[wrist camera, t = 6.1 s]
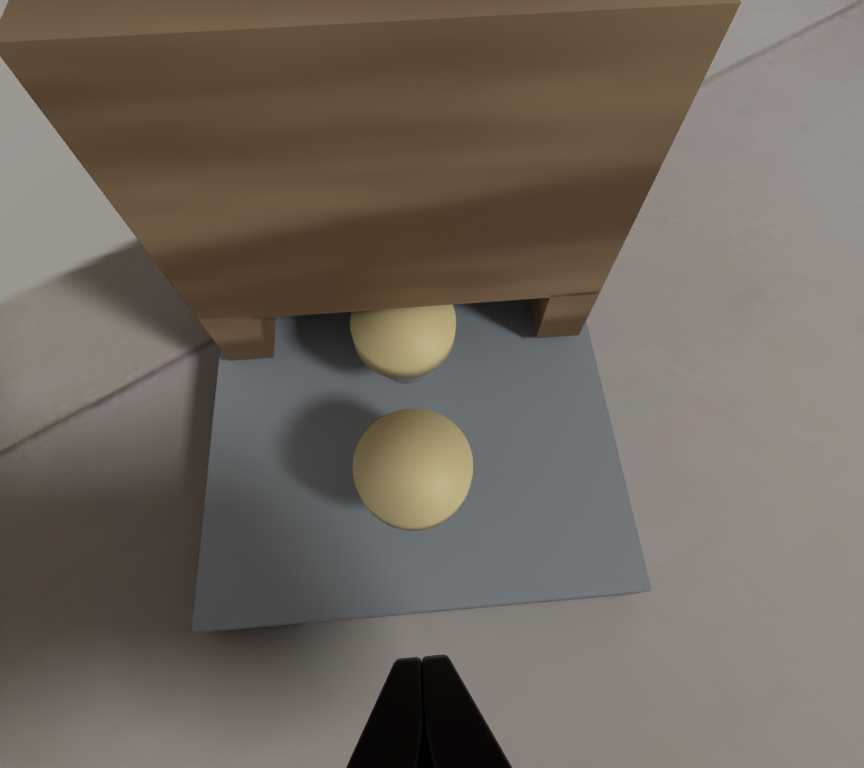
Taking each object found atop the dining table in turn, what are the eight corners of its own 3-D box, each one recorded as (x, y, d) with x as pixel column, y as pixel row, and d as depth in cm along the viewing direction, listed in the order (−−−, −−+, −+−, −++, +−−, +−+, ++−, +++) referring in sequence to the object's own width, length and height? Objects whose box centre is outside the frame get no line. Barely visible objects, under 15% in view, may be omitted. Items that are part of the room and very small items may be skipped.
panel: (578, 334, 18) (740, 2, 9) (229, 361, 18) (-11, 43, 8) (562, 265, 20) (688, -93, 10) (236, 287, 19) (35, -61, 10)
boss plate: (633, 593, 16) (745, 572, 11) (211, 631, 16) (83, 630, 10) (557, 259, 22) (602, 123, 16) (242, 281, 22) (170, 149, 16)
